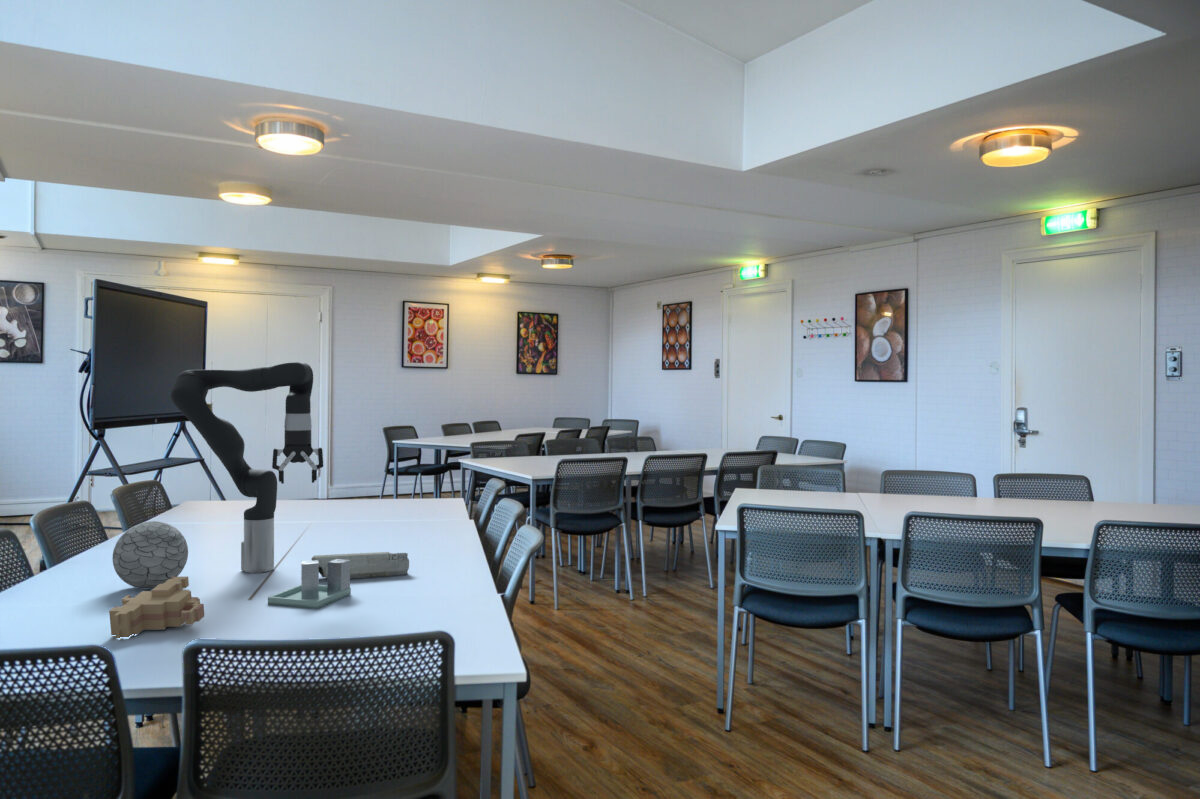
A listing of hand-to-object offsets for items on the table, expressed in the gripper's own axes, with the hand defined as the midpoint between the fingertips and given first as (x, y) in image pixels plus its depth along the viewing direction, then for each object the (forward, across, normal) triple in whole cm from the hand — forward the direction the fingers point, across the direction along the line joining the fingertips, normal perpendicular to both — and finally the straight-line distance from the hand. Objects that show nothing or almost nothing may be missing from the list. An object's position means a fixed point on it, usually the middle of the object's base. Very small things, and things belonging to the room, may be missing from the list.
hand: (297, 482), depth 238 cm
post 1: (+32, +3, -12) cm, 34 cm away
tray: (+32, +3, -12) cm, 35 cm away
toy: (+32, -32, -29) cm, 54 cm away
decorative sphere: (+32, -41, +17) cm, 55 cm away
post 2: (+32, +11, -11) cm, 36 cm away
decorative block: (+32, +19, +11) cm, 39 cm away
